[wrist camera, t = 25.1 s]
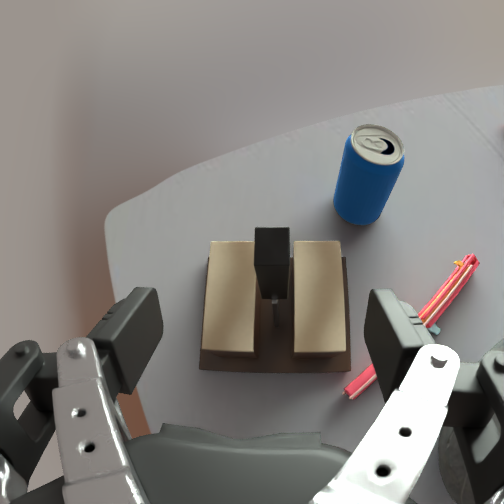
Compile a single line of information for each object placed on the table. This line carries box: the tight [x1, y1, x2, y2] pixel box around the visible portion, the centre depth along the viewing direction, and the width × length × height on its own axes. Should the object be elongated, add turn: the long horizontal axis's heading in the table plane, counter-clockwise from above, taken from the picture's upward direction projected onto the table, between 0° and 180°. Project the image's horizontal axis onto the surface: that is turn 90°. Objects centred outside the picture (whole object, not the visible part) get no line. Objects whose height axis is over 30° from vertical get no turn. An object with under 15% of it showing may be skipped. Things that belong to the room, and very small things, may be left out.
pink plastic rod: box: [342, 254, 480, 400], centre depth 31 cm, size 24×2×5 cm
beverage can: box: [333, 124, 404, 225], centre depth 33 cm, size 6×6×12 cm
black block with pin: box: [254, 227, 290, 327], centre depth 25 cm, size 2×3×17 cm, turn 178°
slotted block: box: [199, 241, 351, 373], centre depth 30 cm, size 16×13×8 cm
